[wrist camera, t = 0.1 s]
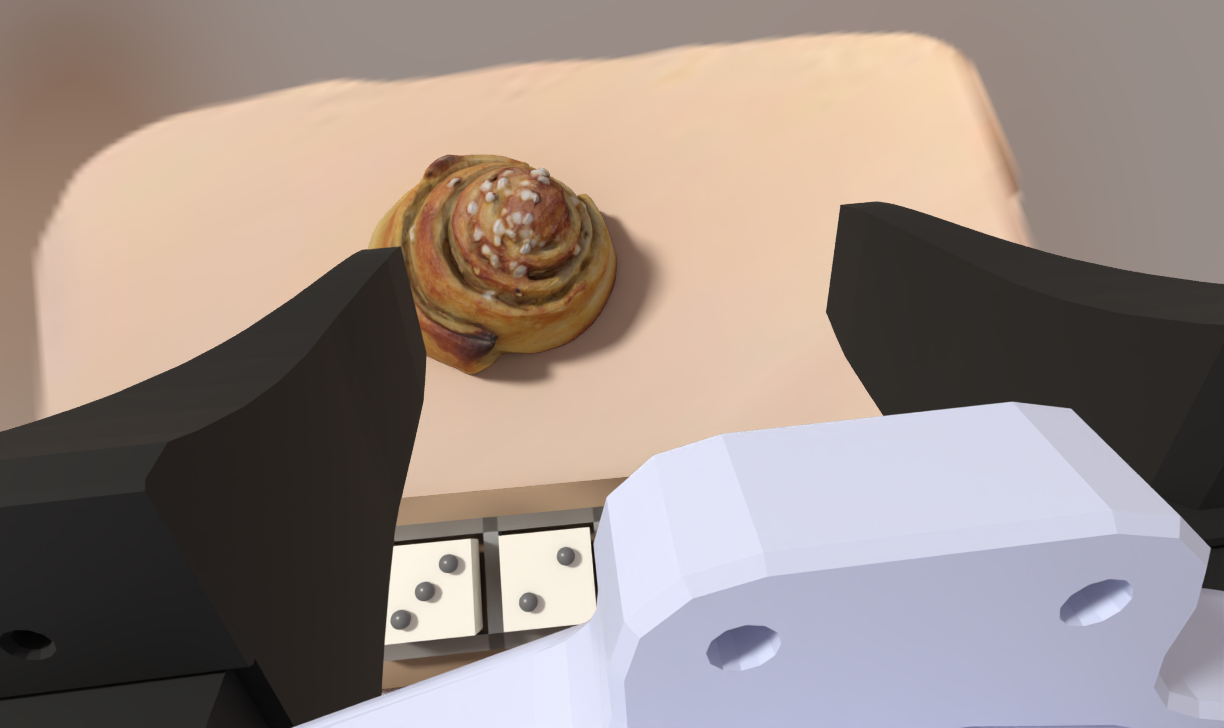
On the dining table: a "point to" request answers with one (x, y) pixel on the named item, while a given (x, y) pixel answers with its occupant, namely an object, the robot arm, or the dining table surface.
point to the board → (487, 561)
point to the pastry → (499, 259)
